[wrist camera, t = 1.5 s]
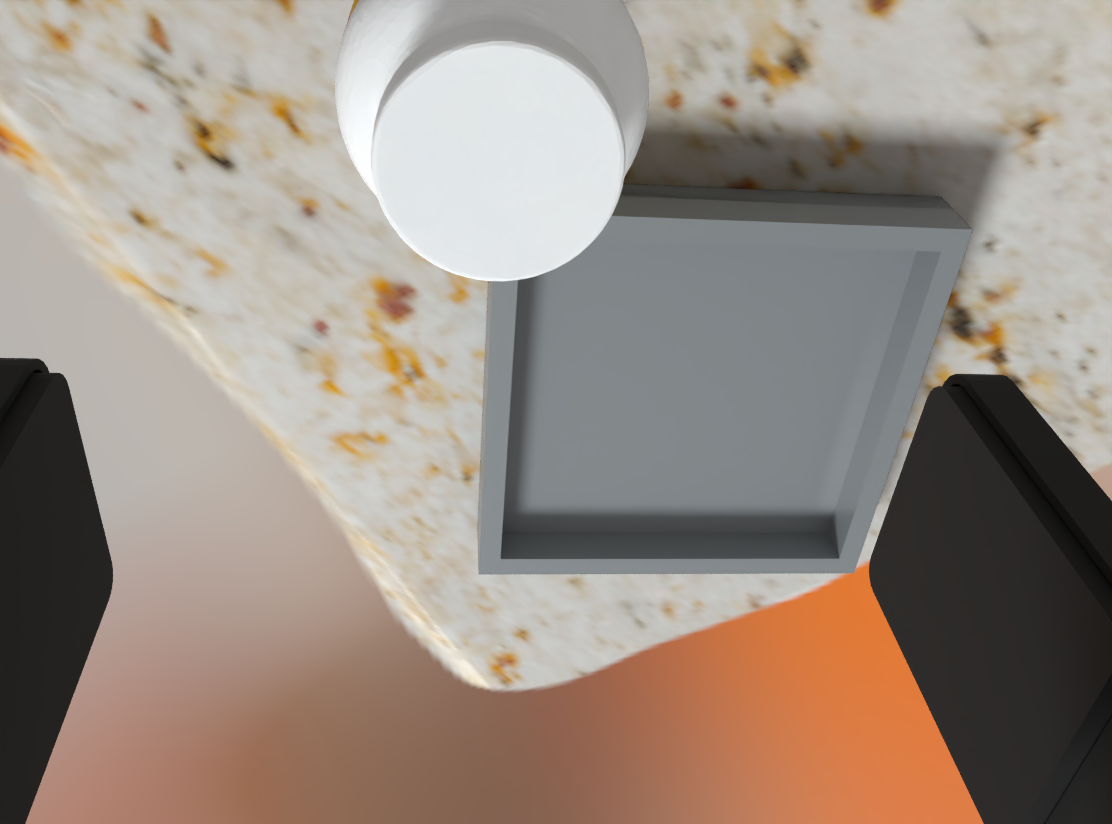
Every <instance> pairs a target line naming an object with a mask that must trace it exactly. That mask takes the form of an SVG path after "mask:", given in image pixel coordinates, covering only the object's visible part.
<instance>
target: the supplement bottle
mask: <svg viewBox="0 0 1112 824" xmlns="http://www.w3.org/2000/svg"><path fill="white" fill-rule="evenodd" d="M335 99H336V107H337V114H338V120H339V125H340V129H341V133H342V136H343V139H344V142H345V145H346V147H347V150H348V152H349V154H350V157H351V159H352V161H353V163H354V165H355V166H356V168H357V170H358V172H359V173H360V175H361V177H362V178H363V180H364V181H365V182H366V184H367V185H368V186H369V188H370V189H371V191H372V192H373V193H374V194H375V195H376V196H377V197H378V200H379V202H380V205H381V207H382V209H383V211H384V213H385V215H386V217H387V219H388V220H389V222H390V224H391V225H392V227H393V228H394V229H395V230H396V232H397V233H398V234H399V236H400V237H401V238H402V239H403V240H404V241H405V242H406V243H407V244H408V245H409V246H410V247H411V248H412V249H413V250H414V251H415V252H417V253H418V254H419V255H420V256H422V257H423V258H425V259H426V260H428V261H429V262H431V263H432V264H434V265H436V266H438V267H440V268H442V269H444V270H446V271H449V272H451V273H454V274H457V275H460V276H463V277H467V278H472V279H477V280H484V281H511V280H520V279H527V278H531V277H535V276H538V275H541V274H544V273H546V272H549V271H551V270H553V269H556V268H558V267H559V266H561V265H563V264H565V263H567V262H568V261H570V260H571V259H573V258H574V257H576V256H577V255H579V254H580V253H581V252H582V251H583V250H584V249H585V248H587V247H588V246H589V245H590V244H591V243H592V242H593V241H594V240H595V238H596V237H597V236H598V235H599V234H600V233H601V231H602V230H603V228H604V227H605V225H606V224H607V222H608V221H609V219H610V217H611V216H612V214H613V212H614V210H615V207H616V205H617V203H618V200H619V197H620V194H621V191H622V188H623V182H624V177H625V175H626V174H627V172H628V170H629V168H630V167H631V165H632V163H633V161H634V159H635V157H636V154H637V151H638V149H639V146H640V143H641V140H642V137H643V134H644V131H645V126H646V122H647V114H648V105H649V77H648V70H647V63H646V58H645V53H644V49H643V46H642V42H641V39H640V36H639V34H638V31H637V29H636V26H635V24H634V22H633V20H632V18H631V16H630V14H629V12H628V10H627V8H626V6H625V5H624V3H623V1H622V0H354V3H353V6H352V9H351V12H350V16H349V19H348V22H347V25H346V28H345V32H344V35H343V38H342V42H341V46H340V50H339V55H338V59H337V67H336V77H335Z"/></svg>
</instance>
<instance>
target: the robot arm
mask: <svg viewBox="0 0 1112 824" xmlns="http://www.w3.org/2000/svg"><path fill="white" fill-rule="evenodd" d="M869 577H870V583H871V587H872V589H873V592H874V594H875V596H876V598H877V600H878V602H879V605H880V607H881V609H882V611H883V613H884V615H885V617H886V619H887V621H888V623H889V626H890V627H891V630H892V632H893V634H894V636H895V638H896V640H897V642H898V644H899V646H900V649H901V651H902V653H903V655H904V657H905V659H906V661H907V663H908V665H909V668H910V670H911V672H912V674H913V676H914V678H915V680H916V682H917V684H918V686H919V689H920V691H921V693H922V695H923V697H924V699H925V701H926V703H927V705H928V707H929V710H930V711H931V714H932V716H933V718H934V720H935V722H936V724H937V726H938V728H939V730H940V733H941V735H942V737H943V739H944V741H945V743H946V745H947V747H948V749H949V751H950V754H951V756H952V758H953V760H954V762H955V764H956V766H957V768H958V770H959V772H960V775H961V777H962V779H963V781H964V783H965V785H966V787H967V789H968V791H969V793H970V795H971V798H972V800H973V802H974V804H975V806H976V808H977V810H978V812H979V814H980V816H981V818H982V821H983V823H984V824H1112V501H1111V500H1110V498H1109V497H1108V496H1107V495H1106V494H1105V492H1104V491H1103V490H1102V489H1101V488H1100V486H1099V485H1098V484H1097V483H1096V482H1095V480H1094V479H1093V478H1092V477H1091V475H1090V474H1089V473H1088V472H1087V471H1086V469H1085V468H1084V467H1083V466H1082V465H1081V463H1080V462H1079V461H1078V460H1077V458H1076V457H1075V456H1074V455H1073V454H1072V452H1071V451H1070V450H1069V449H1068V448H1067V446H1066V445H1065V444H1064V443H1063V442H1062V440H1061V439H1060V438H1059V437H1058V436H1057V434H1056V433H1055V432H1054V431H1053V429H1052V428H1051V427H1050V426H1049V425H1048V423H1047V422H1046V421H1045V420H1044V419H1043V417H1042V416H1041V415H1040V414H1039V413H1038V411H1037V410H1036V409H1035V408H1034V406H1033V405H1032V404H1031V403H1030V402H1029V400H1028V399H1027V398H1026V397H1025V396H1024V394H1023V393H1022V392H1021V391H1020V390H1019V388H1018V387H1017V386H1016V385H1015V383H1014V382H1013V381H1012V380H1011V379H1009V378H1008V377H1007V376H1004V375H985V374H955V375H952V376H950V377H949V378H948V379H947V380H946V381H945V382H944V384H943V386H938V387H935V388H934V389H933V390H932V391H931V392H930V393H929V396H928V398H927V400H926V403H925V406H924V409H923V411H922V414H921V417H920V420H919V423H918V426H917V428H916V431H915V434H914V437H913V440H912V443H911V445H910V448H909V451H908V454H907V457H906V460H905V462H904V465H903V468H902V471H901V474H900V476H899V479H898V482H897V485H896V488H895V491H894V493H893V496H892V499H891V502H890V505H889V508H888V510H887V513H886V516H885V519H884V522H883V525H882V527H881V530H880V533H879V536H878V539H877V542H876V544H875V547H874V550H873V553H872V556H871V559H870V565H869ZM112 583H113V568H112V561H111V557H110V553H109V549H108V545H107V540H106V536H105V532H104V528H103V524H102V520H101V517H100V512H99V508H98V504H97V500H96V496H95V492H94V488H93V484H92V480H91V475H90V471H89V467H88V463H87V459H86V455H85V451H84V447H83V443H82V439H81V435H80V431H79V427H78V423H77V419H76V415H75V411H74V407H73V402H72V398H71V394H70V390H69V386H68V383H67V380H66V379H65V377H64V376H63V375H62V374H60V373H49V371H48V368H47V367H46V365H45V363H44V362H43V361H41V360H40V359H27V358H0V824H25V823H26V820H27V817H28V815H29V812H30V809H31V807H32V804H33V801H34V799H35V796H36V793H37V791H38V788H39V785H40V783H41V780H42V777H43V774H44V772H45V769H46V767H47V764H48V761H49V758H50V756H51V753H52V750H53V748H54V745H55V742H56V740H57V737H58V734H59V732H60V729H61V726H62V723H63V721H64V718H65V716H66V713H67V710H68V708H69V705H70V702H71V699H72V697H73V694H74V692H75V689H76V686H77V684H78V681H79V678H80V676H81V673H82V670H83V668H84V665H85V662H86V660H87V657H88V654H89V651H90V649H91V646H92V644H93V641H94V638H95V636H96V633H97V630H98V628H99V625H100V622H101V619H102V617H103V614H104V611H105V609H106V606H107V603H108V601H109V598H110V594H111V589H112Z"/></svg>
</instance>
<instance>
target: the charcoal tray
mask: <svg viewBox="0 0 1112 824" xmlns="http://www.w3.org/2000/svg"><path fill="white" fill-rule="evenodd" d="M972 231H973V229H972V228H971V227H970V226H969V225H968V224H967V223H966V222H965V221H964V220H963V219H962V218H961V217H960V216H959V215H958V214H957V213H956V212H955V211H954V210H953V208H952V207H951V206H950V205H949V204H948V203H947V202H946V201H945V200H944V199H943V198H942V197H926V196H902V195H878V194H854V193H830V192H806V191H781V190H757V189H733V188H709V187H685V186H661V185H637V184H623V188H622V191H621V194H620V197H619V200H618V203H617V205H616V207H615V210H614V212H613V214H612V216H611V217H610V219H609V221H608V222H607V224H606V225H605V227H604V228H603V230H602V231H601V233H600V234H599V235H598V236H597V237H596V238H595V240H594V241H593V242H592V243H591V244H590V245H589V246H588V247H587V248H585V249H584V250H583V251H582V252H581V253H580V254H579V255H577V256H576V257H574V258H573V259H571V260H570V261H568V262H567V263H565V264H563V265H561V266H559V267H558V268H556V269H553V270H551V271H549V272H546V273H544V274H541V275H538V276H535V277H531V278H527V279H520V280H511V281H488V299H487V322H486V345H485V368H484V391H483V414H482V437H481V460H480V483H479V506H478V529H477V532H478V567H479V574H758V573H854V571H855V568H856V565H857V562H858V559H859V556H860V554H861V551H862V548H863V545H864V542H865V539H866V536H867V533H868V530H869V528H870V525H871V522H872V519H873V516H874V513H875V510H876V507H877V505H878V502H879V499H880V496H881V493H882V490H883V487H884V484H885V482H886V479H887V476H888V473H889V470H890V467H891V464H892V461H893V458H894V456H895V453H896V450H897V447H898V444H899V441H900V438H901V435H902V433H903V430H904V427H905V424H906V421H907V418H908V415H909V412H910V410H911V407H912V404H913V401H914V398H915V395H916V392H917V389H918V386H919V384H920V381H921V378H922V375H923V372H924V369H925V366H926V363H927V361H928V358H929V355H930V352H931V349H932V346H933V343H934V340H935V337H936V335H937V332H938V329H939V326H940V323H941V320H942V317H943V314H944V312H945V309H946V306H947V303H948V300H949V297H950V294H951V291H952V289H953V286H954V283H955V280H956V277H957V274H958V271H959V268H960V265H961V263H962V260H963V257H964V254H965V251H966V248H967V245H968V242H969V240H970V237H971V234H972Z"/></svg>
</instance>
